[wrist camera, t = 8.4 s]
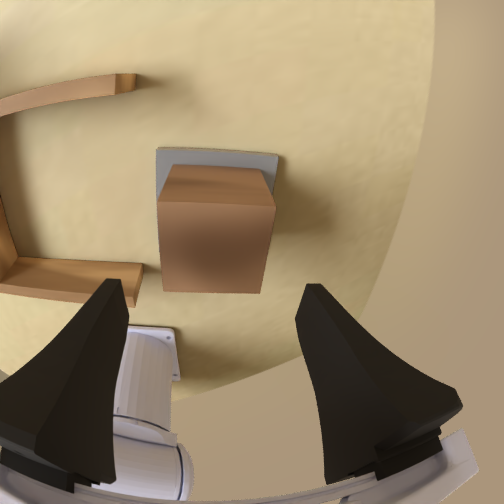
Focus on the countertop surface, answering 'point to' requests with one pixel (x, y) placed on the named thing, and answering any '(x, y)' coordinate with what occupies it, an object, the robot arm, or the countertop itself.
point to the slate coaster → (213, 162)
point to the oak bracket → (59, 270)
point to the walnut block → (214, 229)
